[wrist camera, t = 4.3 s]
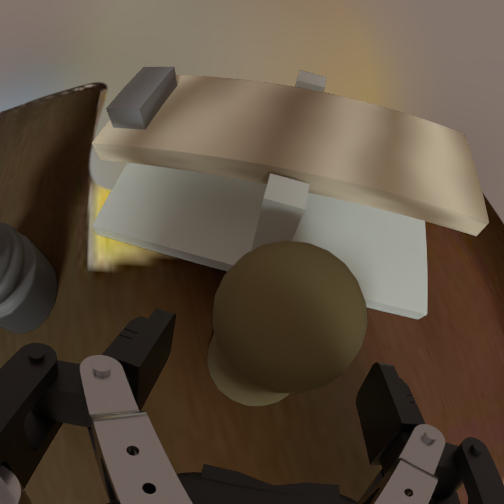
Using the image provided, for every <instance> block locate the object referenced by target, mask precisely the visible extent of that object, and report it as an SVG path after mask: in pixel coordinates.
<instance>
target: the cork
mask: <svg viewBox="0 0 504 504" xmlns="http://www.w3.org/2000/svg"><path fill="white" fill-rule="evenodd" d="M212 324H213V329H214V334H213V336H212V339H211V341H210V343H209V345H208V353H207V364H208V368H209V372H210V376H211V378H212V380H213V381H214V383H215V384H216V386H217V387H218V389H219V390H220V391H221V392H222V393H224V394H225V395H226V396H227V397H229V398H230V399H231V400H233V401H236V402H239V403H241V404H244V405H248V406H265V405H269V404H272V403H276V402H278V401H280V400H282V399H283V398H285V397H286V396H288V395H289V394H291V393H304V392H308V391H311V390H314V389H317V388H320V387H323V386H326V385H328V384H329V383H330V382H332V381H333V380H334V379H336V378H337V377H338V376H339V375H341V374H342V373H343V372H345V371H346V369H347V368H348V367H349V365H350V364H351V362H352V361H353V359H354V358H355V356H356V355H357V353H358V352H359V350H360V349H361V347H362V344H363V340H364V336H365V332H366V328H367V311H366V302H365V299H364V296H363V294H362V291H361V288H360V286H359V283H358V281H357V279H356V278H355V276H354V275H353V274H352V272H351V271H350V270H349V268H348V267H347V266H346V264H345V263H344V262H342V261H341V260H340V259H339V258H337V257H336V256H335V255H333V254H332V253H331V252H329V251H328V250H325V249H323V248H320V247H318V246H315V245H313V244H310V243H304V242H295V241H279V242H274V243H268V244H263V245H261V246H259V247H257V248H256V249H254V250H252V251H250V252H248V253H246V254H244V255H243V256H242V257H241V258H240V259H239V260H238V261H237V262H236V263H235V264H234V265H233V266H232V268H231V269H230V270H229V271H228V272H227V273H226V274H225V275H224V277H223V279H222V281H221V284H220V286H219V288H218V290H217V292H216V294H215V297H214V307H213V317H212Z"/></svg>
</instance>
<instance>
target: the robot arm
mask: <svg viewBox="0 0 504 504" xmlns="http://www.w3.org/2000/svg"><path fill="white" fill-rule="evenodd" d="M175 319H176V315H175V314H174V313H171V312H168V311H165V310H161V309H158V308H157V309H156V310H155V311H154V312H153V314H152V315H151V316H150V317H149V319H148V318H145V317H142V316H140V317H138V318H136V319H134V320H131V321H130V322H129V323H128V324H127V326H126V327H125V328H124V330H122V331H121V333H120V334H119V335H118V336H117V337H116V339H115V340H114V341H113V342H112V343H111V344H110V346H109V347H108V348H107V349H106V350H105V352H104V353H103V354H102V355H94V356H90V357H88V358H86V359H85V360H83V361H82V363H81V364H75V363H69V362H64V361H59V360H57V355H56V352H55V351H54V350H53V349H52V348H51V347H49V346H48V345H45V344H41V343H32V344H28V345H25V346H23V347H22V348H21V349H20V350H19V351H18V352H17V353H16V354H15V355H14V356H13V357H12V358H11V359H10V360H9V361H8V362H7V363H6V364H5V365H4V366H3V367H2V368H1V369H0V504H31V501H30V498H29V497H28V495H27V493H26V492H25V490H24V488H25V487H26V485H27V483H28V481H29V480H30V478H31V476H32V474H33V472H34V471H35V469H36V467H37V466H38V464H39V462H40V460H41V459H42V457H43V455H44V454H45V452H46V450H47V449H48V447H49V445H50V444H51V442H52V440H53V439H54V437H55V435H56V434H57V432H58V430H59V429H60V427H61V426H62V424H63V423H68V424H73V425H79V426H84V427H87V429H88V433H89V437H90V441H91V444H92V448H93V451H94V455H95V458H96V461H97V464H98V468H99V471H100V475H101V478H102V482H103V485H104V488H105V491H106V494H107V497H108V499H109V502H110V503H108V504H460V501H459V498H458V494H457V490H458V489H459V488H460V487H461V486H462V485H465V488H466V491H467V494H468V504H504V485H503V482H502V480H501V478H500V475H499V473H498V471H497V468H496V466H495V464H494V462H493V459H492V457H491V455H490V453H489V451H488V449H487V447H486V446H485V444H484V443H482V442H481V441H480V440H478V439H476V438H471V437H470V438H466V439H465V440H464V441H463V442H462V443H461V444H460V445H459V446H456V445H452V444H449V443H445V439H444V436H443V435H442V433H441V432H440V431H439V430H438V429H436V428H435V427H433V426H430V425H427V424H425V422H424V420H423V417H422V415H421V413H420V411H419V408H418V406H417V404H415V399H414V397H412V393H411V391H410V389H409V387H408V385H407V384H406V383H405V382H404V381H403V380H402V379H401V378H399V377H398V374H397V372H396V370H395V368H394V366H393V365H388V364H382V363H374V364H373V366H372V367H371V369H370V371H369V373H368V375H367V377H366V379H365V380H364V382H363V384H362V386H361V388H360V390H359V392H358V394H357V399H356V406H357V410H358V414H359V418H360V422H361V427H362V431H363V435H364V439H365V444H366V448H367V453H368V457H369V462H370V465H382V469H381V471H380V472H379V473H378V474H377V476H376V477H375V479H374V480H373V482H372V483H371V484H370V486H369V487H368V489H367V490H366V492H365V493H364V494H363V496H362V497H361V498H360V500H359V501H358V502H356V501H355V500H353V499H351V498H348V497H346V496H343V495H340V494H339V485H330V484H317V483H299V484H288V485H271V484H268V483H265V482H263V481H260V480H257V479H255V478H252V477H250V476H247V475H245V474H242V473H240V472H237V471H232V470H227V469H223V468H219V467H214V466H210V465H206V464H204V466H203V469H202V472H201V473H198V472H191V473H180V474H176V473H175V471H174V469H173V467H172V465H171V463H170V461H169V459H168V457H167V455H166V453H165V451H164V449H163V447H162V445H161V443H160V441H159V439H158V437H157V435H156V433H155V430H154V428H153V426H152V424H151V422H150V419H149V417H148V415H147V414H146V412H145V411H141V409H142V407H143V405H144V403H145V401H146V400H147V398H148V396H149V394H150V392H151V390H152V388H153V386H154V384H155V383H156V381H157V379H158V377H159V375H160V373H161V371H162V369H163V367H164V366H165V364H166V362H167V360H168V357H169V354H170V350H171V345H172V339H173V332H174V325H175Z"/></svg>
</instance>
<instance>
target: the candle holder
mask: <svg viewBox="0 0 504 504" xmlns="http://www.w3.org/2000/svg"><path fill="white" fill-rule="evenodd" d="M57 286H58V285H57V280H56V274H55V270H54V269H53V267H52V266H51V264H50V263H49V261H48V260H47V259H46V257H45V256H44V255H43V254H42V253H41V252H40V251H39V250H38V249H37V247H36V246H35V245H34V244H33V243H32V242H31V241H30V239H29V238H28V237H26V236H24V235H22V234H20V233H18V232H17V230H16V229H15V228H13V227H11V226H10V225H8V224H6V223H0V327H2V328H4V329H6V330H8V331H10V332H15V333H23V334H24V333H26V332H29V331H31V330H34V329H36V328H37V327H38V326H39V325H40V324H41V323H42V322H43V321H44V320H45V319H46V318H47V317H48V315H49V313H50V311H51V309H52V307H53V305H54V303H55V299H56V293H57Z"/></svg>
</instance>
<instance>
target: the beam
mask: <svg viewBox="0 0 504 504" xmlns="http://www.w3.org/2000/svg"><path fill="white" fill-rule="evenodd" d="M106 109H107V112H108V114H109V117H110V120H109V121H108V122H107V123H106V125H105V126H104V128H103V129H102V130H101V131H100V133H99V134H98V135H97V137H96V138H95V139H94V141H93V142H92V145H93V147H94V149H95V151H96V154H97V155H98V158H99V159H100V160H109V161H118V162H126V163H134V164H142V165H150V166H158V167H165V168H172V169H179V170H186V171H193V172H199V173H205V174H212V175H218V176H224V177H230V178H235V179H241V180H247V181H252V182H258V183H263V184H267V183H268V180H269V176H270V173H271V174H275V175H278V176H282V177H286V178H290V179H293V180H297V181H300V182H304V183H308V184H310V185H309V191H308V193H313V194H317V195H322V196H326V197H331V198H335V199H340V200H344V201H348V202H353V203H357V204H361V205H365V206H369V207H373V208H377V209H381V210H385V211H389V212H393V213H397V214H401V215H405V216H408V217H412V218H416V219H420V220H423V221H427V222H430V223H434V224H437V225H441V226H444V227H448V228H451V229H455V230H458V231H461V232H465V233H468V234H471V235H474V236H477V235H478V234H479V233H480V232H481V231H482V230H483V229H484V227H485V226H486V225H487V224H488V223H489V221H488V216H487V211H486V207H485V202H484V198H483V194H482V190H481V186H480V182H479V179H478V175H477V171H476V168H475V165H474V161H473V158H472V155H471V151H470V148H469V145H468V142H467V139H466V136H465V134H462V133H460V132H457V131H455V130H452V129H449V128H447V127H444V126H441V125H439V124H436V123H433V122H430V121H427V120H424V119H421V118H418V117H415V116H412V115H409V114H406V113H403V112H399V111H396V110H392V109H389V108H386V107H382V106H379V105H375V104H371V103H367V102H363V101H359V100H355V99H351V98H347V97H343V96H338V95H334V94H329V93H324V92H319V91H314V90H309V89H304V88H298V87H292V86H285V85H280V84H273V83H265V82H258V81H249V80H240V79H231V78H220V77H206V76H189V75H188V76H187V75H176V74H175V68H174V67H143V68H142V69H141V70H140V71H139V73H137V75H136V76H135V77H134V78H133V79H132V80H131V81H130V82H129V83H128V84H127V85H126V86H125V88H124V89H123V90H122V91H121V92H120V93H119V94H118V95H117V97H116V98H115V99H114V100H113V101H112V102H111V104H110V105H109V106H108V107H107V108H106Z"/></svg>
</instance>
